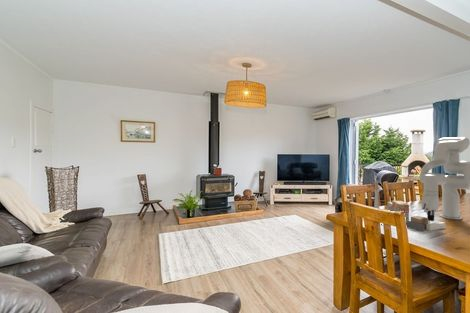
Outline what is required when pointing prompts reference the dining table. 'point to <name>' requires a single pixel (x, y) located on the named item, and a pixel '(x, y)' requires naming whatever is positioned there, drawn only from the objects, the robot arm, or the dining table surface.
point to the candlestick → (376, 195)
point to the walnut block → (420, 220)
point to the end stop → (415, 225)
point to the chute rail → (435, 226)
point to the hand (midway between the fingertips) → (430, 220)
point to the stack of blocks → (399, 207)
